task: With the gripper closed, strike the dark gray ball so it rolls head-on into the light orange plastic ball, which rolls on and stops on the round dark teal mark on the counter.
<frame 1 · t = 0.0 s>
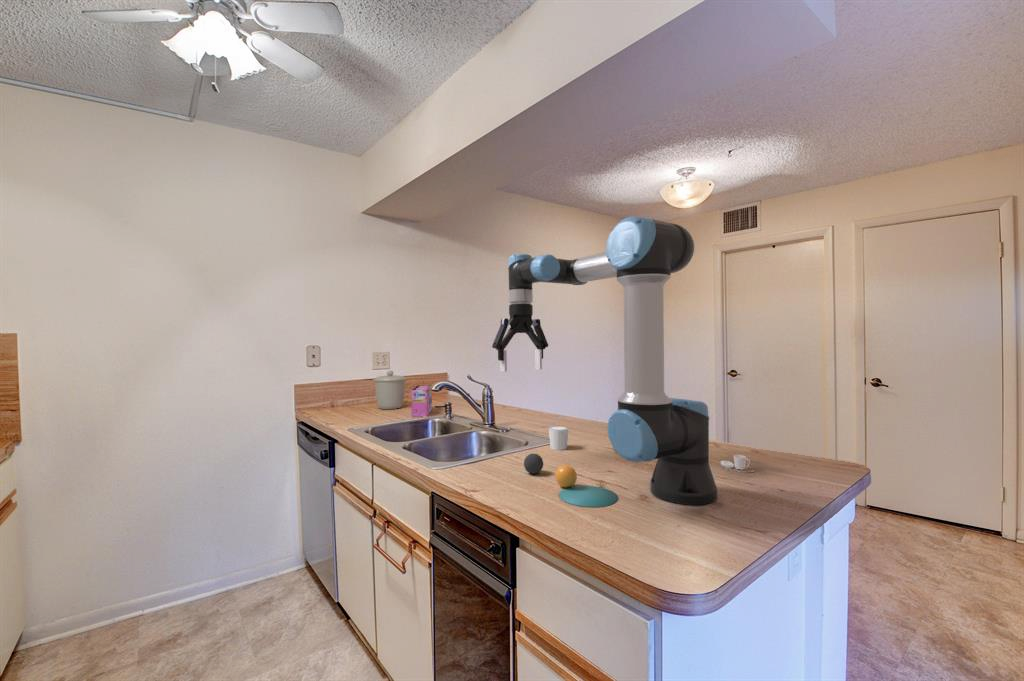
hand: (521, 370, 140), 28 cm above the counter, tool pointing down, fingers open, 13 cm apart
canister: (390, 408, 245), on the counter
orange ball: (565, 476, 112), on the counter
teacup and saucer: (737, 468, 129), on the counter
white tapered cylinder: (558, 448, 152), on the counter
dark gray ball: (533, 463, 124), on the counter
gum box: (422, 413, 227), on the counter
coffee cup: (624, 452, 145), on the counter
teal mark: (587, 496, 105), on the counter
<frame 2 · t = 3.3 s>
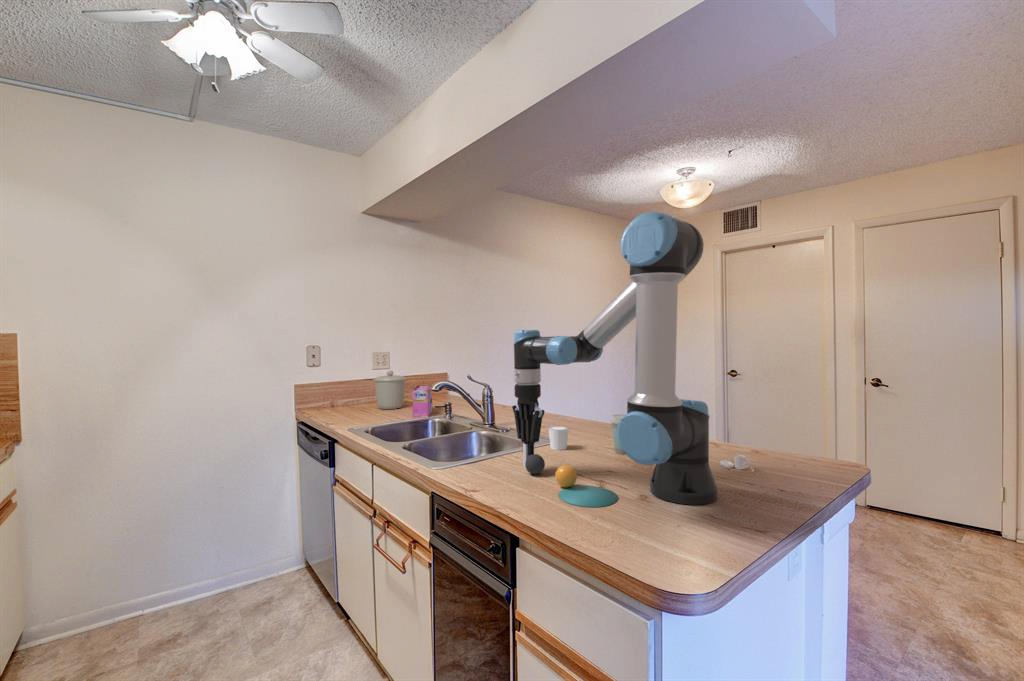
hand: (528, 465, 126), 2 cm above the counter, tool pointing down, fingers closed
dark gray ball: (535, 464, 123), on the counter, touching gripper
everything else where it was.
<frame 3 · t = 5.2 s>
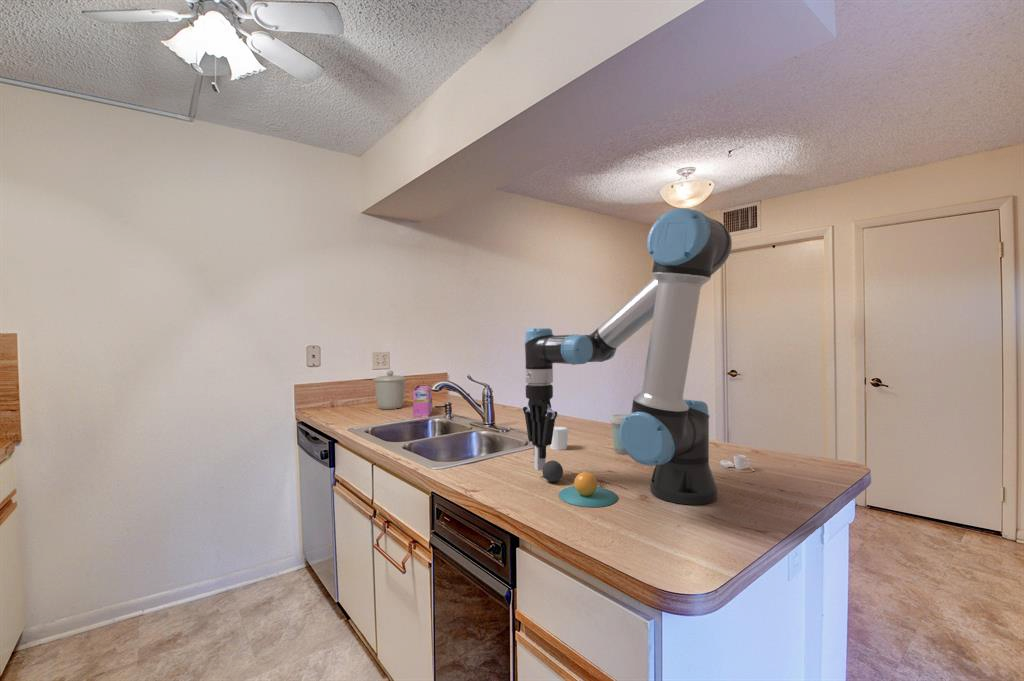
hand: (540, 469, 121), 2 cm above the counter, tool pointing down, fingers closed
orange ball: (585, 483, 106), on the counter
dark gray ball: (552, 471, 116), on the counter
everything else where it was.
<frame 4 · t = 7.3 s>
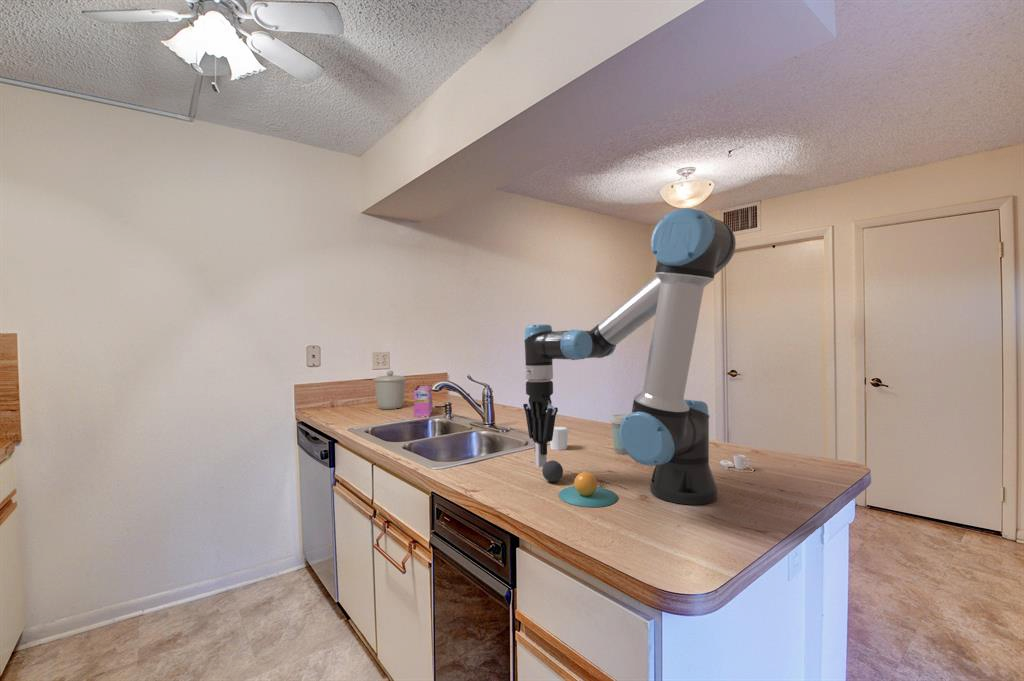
hand: (541, 465, 121), 3 cm above the counter, tool pointing down, fingers closed
nothing on the counter moved.
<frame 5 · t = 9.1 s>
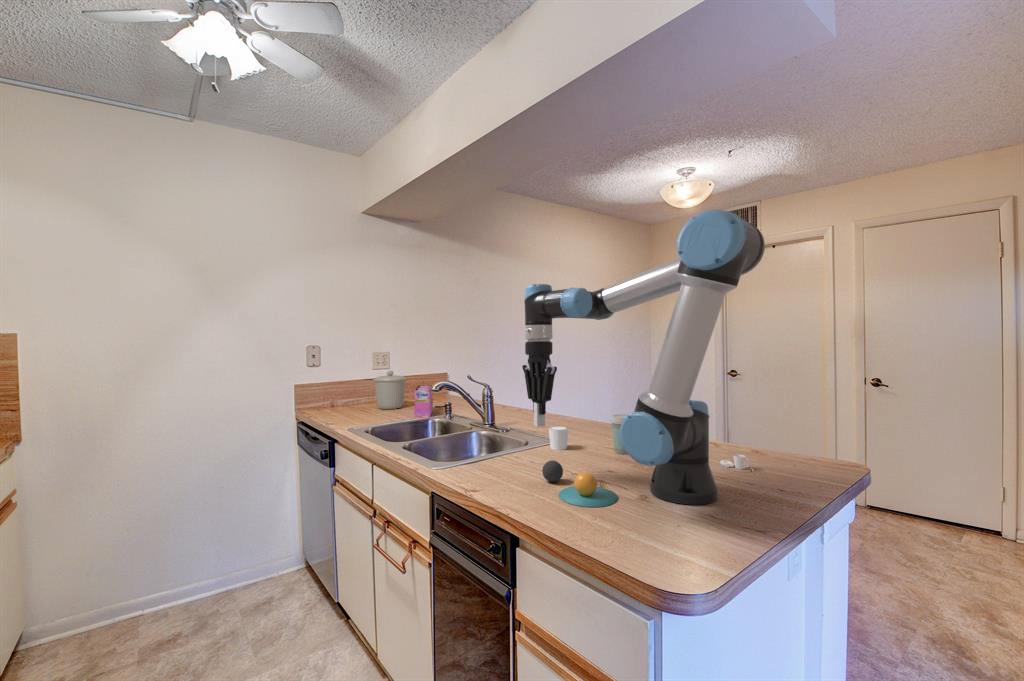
hand: (539, 425, 121), 14 cm above the counter, tool pointing down, fingers closed
at the end: orange ball 0.7 cm from the teal mark (horizontally); orange ball never touched the robot; dark gray ball first touched orange ball at 3.7 s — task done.
